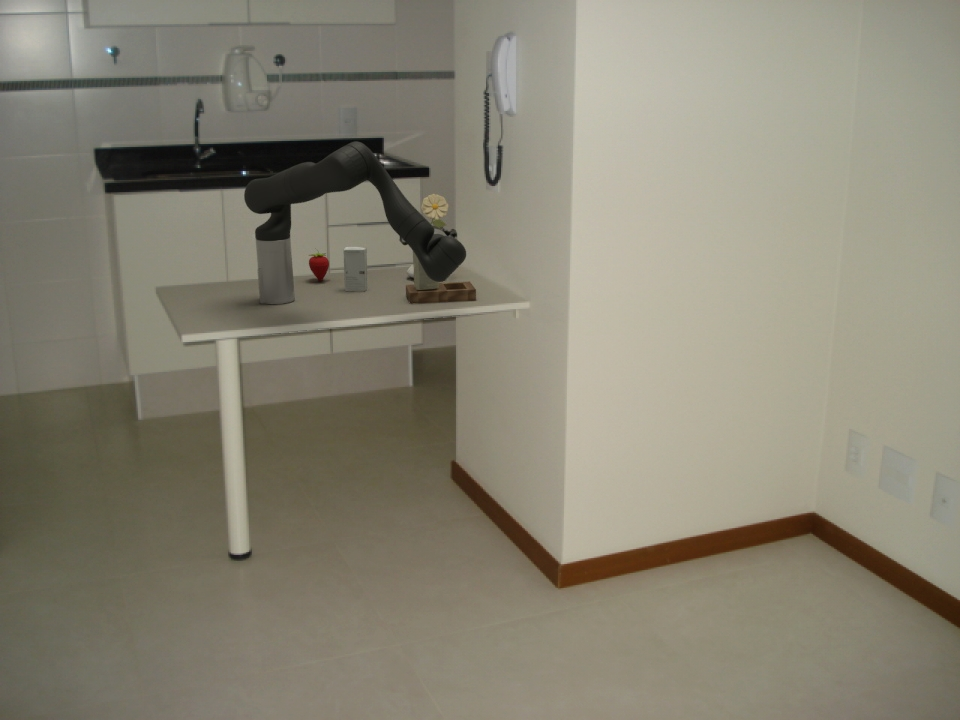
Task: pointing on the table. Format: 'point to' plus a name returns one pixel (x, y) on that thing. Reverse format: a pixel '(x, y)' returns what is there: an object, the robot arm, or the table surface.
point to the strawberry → (319, 265)
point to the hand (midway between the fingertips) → (424, 231)
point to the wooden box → (442, 293)
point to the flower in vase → (433, 215)
